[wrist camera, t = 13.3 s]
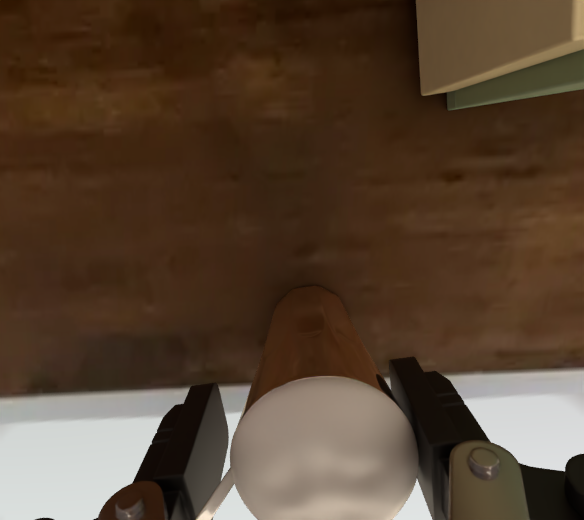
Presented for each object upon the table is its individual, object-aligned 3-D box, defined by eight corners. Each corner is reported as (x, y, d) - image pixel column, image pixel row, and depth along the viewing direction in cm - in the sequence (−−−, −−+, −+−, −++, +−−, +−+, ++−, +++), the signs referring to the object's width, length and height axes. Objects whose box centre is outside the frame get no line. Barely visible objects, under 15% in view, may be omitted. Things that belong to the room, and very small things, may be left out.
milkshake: (231, 280, 17) (148, 465, 7) (356, 263, 16) (446, 430, 7) (249, 373, 18) (200, 636, 8) (366, 358, 18) (452, 611, 8)
